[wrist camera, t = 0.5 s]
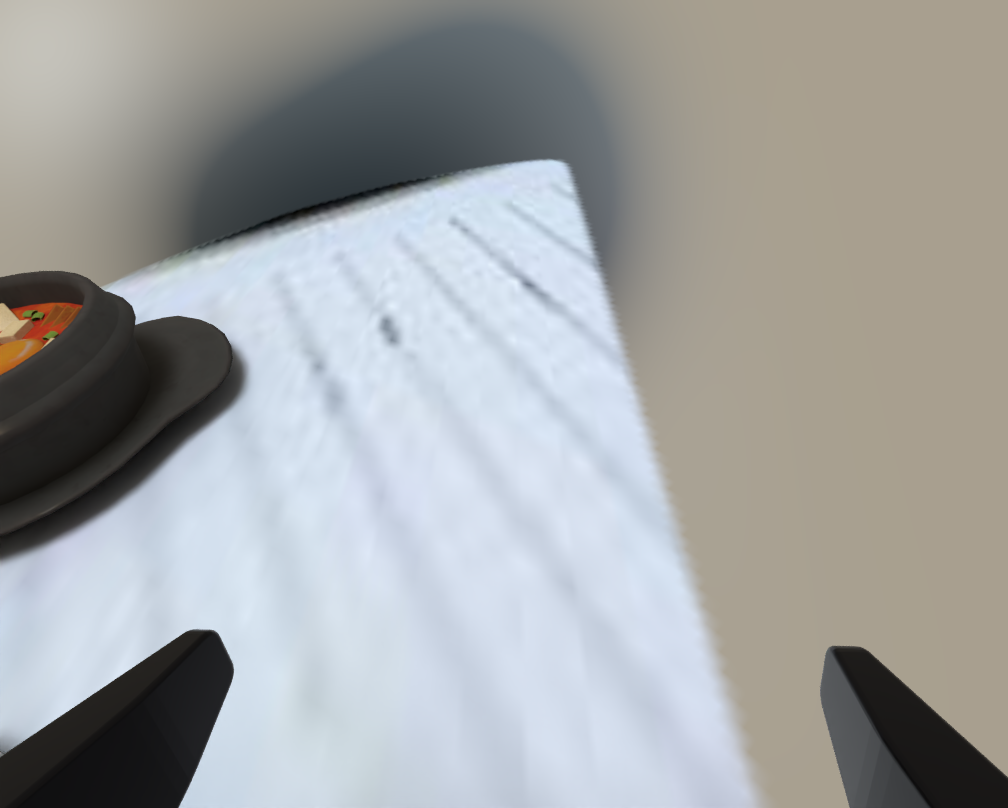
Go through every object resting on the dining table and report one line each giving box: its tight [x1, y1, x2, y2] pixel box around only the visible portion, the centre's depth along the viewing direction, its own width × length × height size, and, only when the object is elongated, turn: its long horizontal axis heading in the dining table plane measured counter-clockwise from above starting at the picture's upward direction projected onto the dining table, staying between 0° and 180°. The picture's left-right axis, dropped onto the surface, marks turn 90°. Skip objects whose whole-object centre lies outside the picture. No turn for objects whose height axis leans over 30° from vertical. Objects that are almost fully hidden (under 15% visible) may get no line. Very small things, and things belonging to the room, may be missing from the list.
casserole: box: [0, 271, 233, 536], centre depth 33 cm, size 25×19×8 cm
